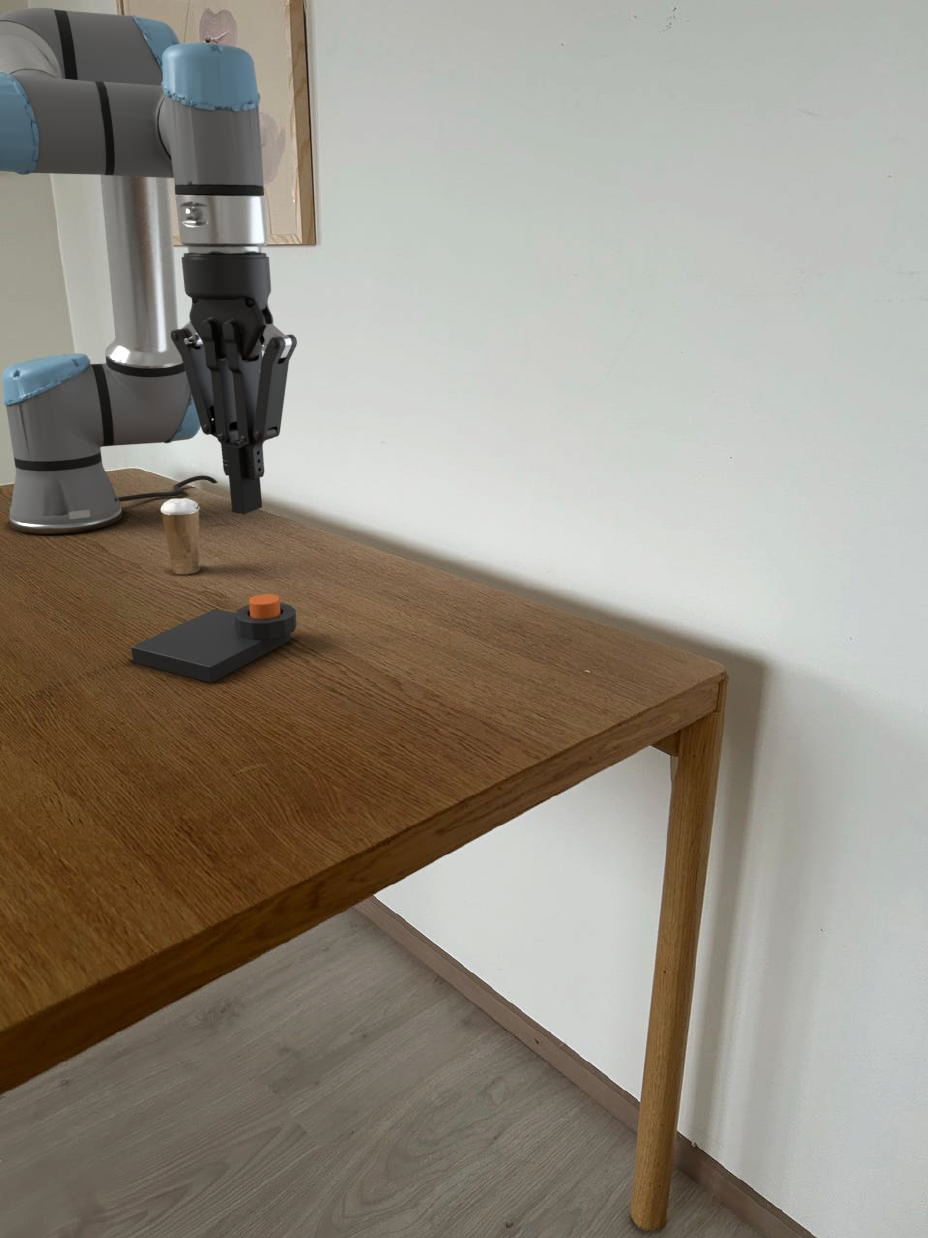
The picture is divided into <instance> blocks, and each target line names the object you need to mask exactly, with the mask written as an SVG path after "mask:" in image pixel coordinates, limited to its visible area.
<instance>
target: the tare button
mask: <svg viewBox="0 0 928 1238" xmlns="http://www.w3.org/2000/svg"><path fill="white" fill-rule="evenodd" d="M280 603H281V600H280V597H279V596H278V595H275V594H271V593H270V594H267V593H264V594H257V595H254V596H252V597H250V598H249V599H248V605H249V606H250V616H251V617H253V618H257V619H268V618H273V617H277V616H279V615H280V614H281V613H280Z"/></svg>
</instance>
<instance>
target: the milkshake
mask: <svg viewBox="0 0 928 1238" xmlns="http://www.w3.org/2000/svg"><path fill="white" fill-rule="evenodd" d="M203 494H204V493H201V494H200V497H199V498H198V502H197V501H195V500H192V499H190V498H186V497H184V498H170V499H168V500H166V501H164V503H163V504H162V505H161V507H160V513H161V519H162V523H163V527H164V531H165V538H166V542H167V548H168V553H169V559H170V563H171V568H172V572H173V574H176V575H182V576H183V575H185V576H186V575H193V574H195V573H199V571H200V569H201V555H200V553H201V552H200V550H201V549H200V548H201V547H200V504H201V501H202V497H203Z"/></svg>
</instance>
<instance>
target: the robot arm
mask: <svg viewBox="0 0 928 1238" xmlns="http://www.w3.org/2000/svg"><path fill="white" fill-rule="evenodd" d="M255 67H256V66H255V62H254V59H253V57H252V55H251V54H250V53H249V52H247V51H246V50H245V49H243V48H241V47H237V46H233V45H227V44H221V43H209V42H208V43H207V42H205V43H204V42H202V43H201V42H194V43H193V42H190V43H188V42H187V43H181V42H180V40H179V38H178V36H177V34H176V32H175V30H173V28H172V27H171V26H170V25H169V24H167V23H166V22H163V21H161V20H156V19H151V18H146V17H140V16H136V15H127V14H114V13H99V12H88V11H87V12H86V11H85V12H84V11H76V10H75V11H74V10H63V9H54V8H49V7H31V8H30V7H29V8H20V9H15V10H12V11H8V12H7V11H6V12H4V13H2V14H0V172H8V173H16V174H19V175H22V176H23V175H24V176H27V175H29V174H53V175H54V174H56V175H57V174H59V175H90V176H91V175H94V176H95V175H96V176H100V186H101V188H100V189H101V198H102V209H103V219H104V231H105V241H106V250H107V251H106V252H107V253H106V254H107V261H108V262H107V263H108V274H109V285H110V294H111V295H110V296H111V305H112V315H113V327H114V336H115V337H114V340H113V341H111V342H110V344H109V345H108V346H107V347H106V348H105V351H104V352H105V353H104V354H105V362H104V363H91V360H90V358H89V357H88V355H87V354H86V353H79V352H78V353H69V354H65V353H64V354H57V355H49V356H44V357H38V358H32V359H29V360H25V361H20V362H17V363H14V364H11V365H10V366H8V367H7V368H6V369H5V370H4V371H3V372H2V375H1V382H2V383H1V385H2V394H3V400H2V404H3V406H5V409H6V416H7V423H8V430H9V436H10V442H11V449H12V455H13V461H14V468H15V478H14V484H13V489H12V497H11V505H10V507H9V523H10V526H11V528H12V529H13V530H15V531H17V532H22V533H26V534H34V535H35V534H36V535H60V534H61V535H62V534H74V533H80V532H89V531H92V530H97V529H101V528H104V527H107V526H111V525H113V524H115V523H117V522H118V521H120V520H121V519H122V518H123V511H122V505H121V503H122V502H129V501H135V500H142V499H150V498H168V497H169V498H170V497H178V496H181V495H183V493H184V490H183V489H182V487H184V486H187V485H188V484H190V483H194V482H197V481H207V482H210V483H211V484H218V483H219V482H218V481H217V480H216V479H215V478H214V477H211V476H208V475H195V476H191V477H189V478H187V479H184V480H182V481H180V482H178V483H176V484H174V485H173V491H160V492H159V491H158V492H147V493H139V494H132V495H124V496H117V495H116V491H115V489H114V487H113V485H112V482H111V480H110V478H109V476H108V474H107V472H106V470H105V468H104V464H103V457H102V450H101V448H103V447H114V446H115V447H117V446H129V445H130V446H131V445H146V444H148V445H149V444H162V443H164V444H170V443H171V444H172V442H178V441H179V442H180V441H187V440H191V439H193V438H195V436H196V435H197V434H199V431H200V430H201V432H202V433H203V434H204V435H206V436H209V435H211V436H212V437H214V438H216V439H217V441H218V442H219V444H220V449H221V458H222V469H223V472H224V475H225V476H227V477H228V483H229V492H230V493H229V494H230V502H231V513H235V514H239V515H246V514H249V513H251V512H254V511H256V510H259V509H262V508H263V501H262V488H261V487H262V486H261V478H263V477H264V475H265V462H264V460H265V459H264V447H263V445H264V443H265V442H266V441H268V440H271V439H274V438H277V437H279V436H280V433H281V428H282V419H283V412H284V411H283V410H284V404H285V396H286V387H287V381H288V371H289V365H290V360H291V358H292V356H293V354H294V352H295V349H296V348H297V345H298V340H297V337H296V336H295V335H293V334H285V333H284V332H282V331H281V330H280V329H279V328H278V327H276V326H275V325H274V317H273V314H272V312H271V310H270V307H269V303H268V301H269V297H270V294H271V292H272V283H271V282H272V281H271V280H272V279H271V265H270V257H269V256H267V253H266V252H262V249H263V248H262V247H266V246H267V245H268V244H269V232H268V220H267V208H266V206H267V205H266V197H265V184H264V183H265V182H264V170H263V169H264V168H263V167H264V166H263V153H262V151H263V150H262V137H261V122H260V121H261V120H260V102H261V95H260V93H259V90H258V83H257V75H256V74H257V73H256V68H255ZM171 179H173V181H174V195H175V204H176V213H177V214H176V215H177V222H178V223H177V224H178V232H179V242H180V244H181V245H182V246H185V247H187V251H188V252H184V253H183V256H181V266H182V276H183V287H184V292H185V295H186V296H187V297H189V298H191V307H190V311H189V314H188V315H189V321H188V322H186V324H185V325H184V326H183V327H181V328H179V319H178V318H179V317H178V316H179V315H178V301H177V300H178V298H177V283H176V282H177V281H176V264H175V262H176V261H175V244H174V228H173V227H174V225H173V211H172V209H173V207H172V192H171Z"/></svg>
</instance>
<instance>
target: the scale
mask: <svg viewBox="0 0 928 1238" xmlns="http://www.w3.org/2000/svg"><path fill="white" fill-rule="evenodd" d="M280 613H281V614H280V615H279V616H277V617H273V618H268V619H257V618H253V617H251V616H250V606H249V604H247V605H245V606H243V607H240V608H238V609H237V610H236V612H234V611H233V612H232V611H227V610H223V609H219V608H214V609H212V610H209V611H207V612H205V613H202V614H200V615H199V616H196V617H194V618H192V619H190V620H187V621H185V622H183V623H181V624H178V625H175V626H174V627H172V628H169V629H167V630H165V631H163V632H160V633H158V634H156V635H154V636H151V637H149V638H148V639H145V640H143V641H141V642H138V643H136V644H134V645H131V647H130V650H131V657H132V663H135V664H137V665H141V666H144V667H149V668H152V669H153V668H154V669H156V670H160V671H164V672H167V673H171V674H176V675H179V676H183V677H187V678H191V679H195V680H197V681H198V680H199V681H201V682H206V683H209V684H213V683H215V682H217V681H218V680H220V679H222V678H224V677H226V676H228V675H229V674H231V673H233V672H235V671H237V670H239V669H241V668H243V667H244V666H246V665H247V664H250V663H252V662H253V661H256V660H257V659H259V658H261V657H263V656H264V655H266V654H268V653H270V652H272V651H274V650H276V649H278V648H280V647H281V646H283V645H285V644H288V642H290V641H292V633H294V632H295V630H296V628H297V626H298V625H297V610H296V608H295V607H294V606H292V605H291V604H288V603H283V602H280Z"/></svg>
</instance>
